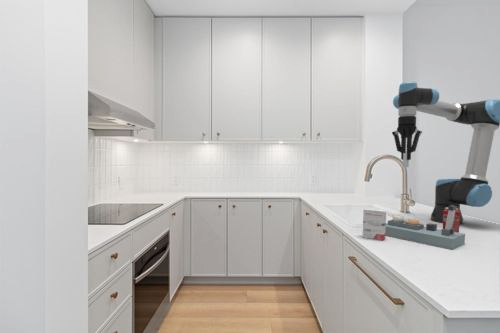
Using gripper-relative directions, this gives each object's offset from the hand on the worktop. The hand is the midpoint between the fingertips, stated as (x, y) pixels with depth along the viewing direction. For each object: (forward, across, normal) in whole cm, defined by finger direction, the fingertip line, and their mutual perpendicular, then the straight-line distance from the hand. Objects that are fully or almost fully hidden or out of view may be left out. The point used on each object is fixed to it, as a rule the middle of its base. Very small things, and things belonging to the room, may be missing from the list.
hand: (405, 166), depth 154 cm
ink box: (+30, -2, -26) cm, 40 cm away
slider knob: (+26, +15, -9) cm, 31 cm away
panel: (+30, +11, -12) cm, 34 cm away
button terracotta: (+25, +8, -12) cm, 29 cm away
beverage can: (+30, +18, +7) cm, 36 cm away
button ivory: (+24, +2, -11) cm, 27 cm away
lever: (+25, +22, -12) cm, 35 cm away
